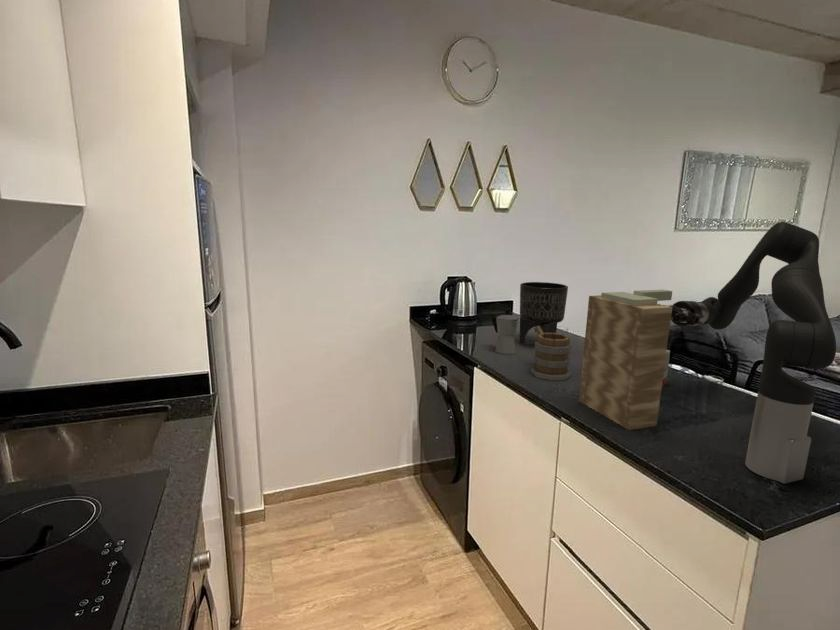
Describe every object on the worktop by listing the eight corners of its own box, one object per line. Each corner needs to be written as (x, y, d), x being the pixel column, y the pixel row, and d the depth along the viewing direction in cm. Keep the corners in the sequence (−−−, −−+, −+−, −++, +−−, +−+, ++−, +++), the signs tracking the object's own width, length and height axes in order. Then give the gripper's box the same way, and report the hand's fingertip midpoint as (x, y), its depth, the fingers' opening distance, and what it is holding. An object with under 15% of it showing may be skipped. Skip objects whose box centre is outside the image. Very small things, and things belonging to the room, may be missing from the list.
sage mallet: (685, 303, 120) (686, 293, 120) (634, 305, 114) (635, 296, 114) (649, 295, 131) (650, 287, 131) (601, 298, 126) (601, 289, 125)
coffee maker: (524, 354, 183) (527, 310, 180) (508, 357, 178) (511, 312, 175) (498, 345, 195) (500, 304, 192) (483, 348, 191) (485, 306, 187)
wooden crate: (656, 425, 120) (672, 307, 113) (629, 430, 117) (644, 308, 111) (603, 398, 138) (614, 294, 132) (579, 401, 135) (589, 295, 129)
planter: (539, 337, 210) (543, 281, 205) (572, 347, 194) (578, 286, 189) (507, 342, 200) (510, 283, 195) (539, 353, 184) (544, 289, 179)
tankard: (576, 380, 154) (580, 337, 151) (541, 381, 152) (544, 338, 149) (550, 362, 173) (553, 324, 170) (518, 363, 171) (521, 324, 168)
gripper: (669, 295, 141) (640, 295, 132) (718, 307, 130) (689, 307, 121) (663, 319, 143) (633, 319, 134) (710, 332, 131) (682, 334, 122)
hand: (660, 313), depth 127 cm, fingers open, 8 cm apart
